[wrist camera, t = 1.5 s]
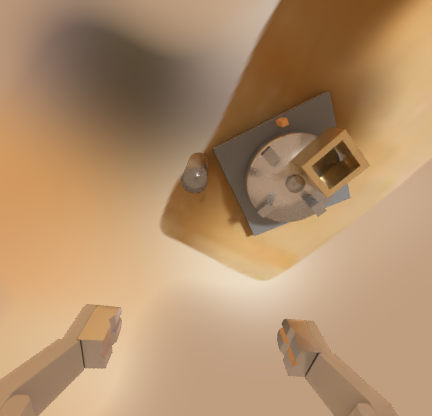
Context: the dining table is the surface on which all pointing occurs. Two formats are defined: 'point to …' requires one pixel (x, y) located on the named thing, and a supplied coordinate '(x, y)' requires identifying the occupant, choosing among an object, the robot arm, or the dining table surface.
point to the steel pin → (195, 173)
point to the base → (251, 139)
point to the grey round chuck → (301, 172)
